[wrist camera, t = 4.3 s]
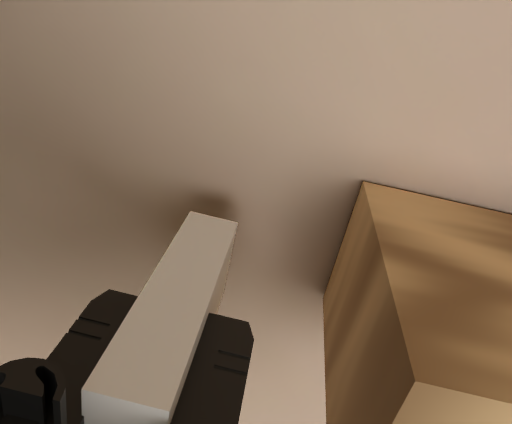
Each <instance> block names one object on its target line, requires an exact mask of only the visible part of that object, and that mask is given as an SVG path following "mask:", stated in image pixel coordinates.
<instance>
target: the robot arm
mask: <svg viewBox="0 0 512 424" xmlns="http://www.w3.org/2000/svg"><path fill="white" fill-rule="evenodd" d="M237 225H238V222H235V221H230V220H226V219H222V218H218V217H214V216H209V215H205V214H201V213H197V212H193V211H190V212H189V214H188V216H187V217H186V219H185V221H184V222H183V224H182V225H181V227H180V229H179V230H178V232H177V234H176V235H175V237H174V239H173V240H172V242H171V243H170V245H169V247H168V248H167V250H166V252H165V253H164V255H163V257H162V258H161V260H160V261H159V263H158V265H157V266H156V268H155V270H154V271H153V273H152V275H151V276H150V278H149V279H148V281H147V283H146V284H145V286H144V288H143V289H142V291H141V293H140V294H139V296H134V295H130V294H126V293H122V292H118V291H114V290H110V289H109V290H107V291H106V292H104V293H103V294H101V295H99V296H98V297H96V298H95V299H93V300H91V302H90V303H89V304H88V305H87V307H86V308H85V309H84V311H83V312H82V313H81V315H80V316H79V319H78V320H76V321H75V323H74V324H73V325H72V327H71V328H70V329H69V332H68V333H66V334H65V336H64V337H63V338H62V340H61V341H60V342H59V344H58V345H57V346H56V348H55V349H54V350H53V352H52V353H51V354H50V355H49V357H48V358H47V359H46V360H45V359H39V358H24V359H18V360H13V361H10V362H7V363H5V364H3V365H1V366H0V424H238V421H239V416H240V411H241V405H242V400H243V395H244V390H245V384H246V379H247V373H248V368H249V363H250V358H251V353H252V347H253V342H254V338H253V335H252V332H251V328H250V325H249V322H246V321H242V320H237V319H233V318H229V317H225V316H221V315H217V312H218V309H219V306H220V303H221V300H222V297H223V294H224V290H225V285H226V280H227V275H228V270H229V265H230V260H231V255H232V250H233V245H234V240H235V235H236V230H237Z"/></svg>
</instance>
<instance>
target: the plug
mask: <svg viewBox="0 0 512 424" xmlns="http://www.w3.org/2000/svg"><path fill="white" fill-rule="evenodd" d="M323 314H324V352H325V390H326V424H512V215H511V214H506V213H502V212H497V211H493V210H488V209H484V208H479V207H475V206H471V205H466V204H462V203H457V202H453V201H448V200H444V199H439V198H435V197H430V196H426V195H422V194H417V193H413V192H408V191H404V190H399V189H395V188H390V187H386V186H382V185H377V184H373V183H368V182H364V181H363V183H362V186H361V189H360V192H359V195H358V198H357V200H356V203H355V206H354V209H353V212H352V215H351V218H350V221H349V224H348V227H347V230H346V233H345V236H344V238H343V241H342V244H341V247H340V250H339V253H338V256H337V259H336V262H335V265H334V268H333V271H332V274H331V276H330V279H329V282H328V285H327V288H326V291H325V294H324V297H323Z"/></svg>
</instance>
